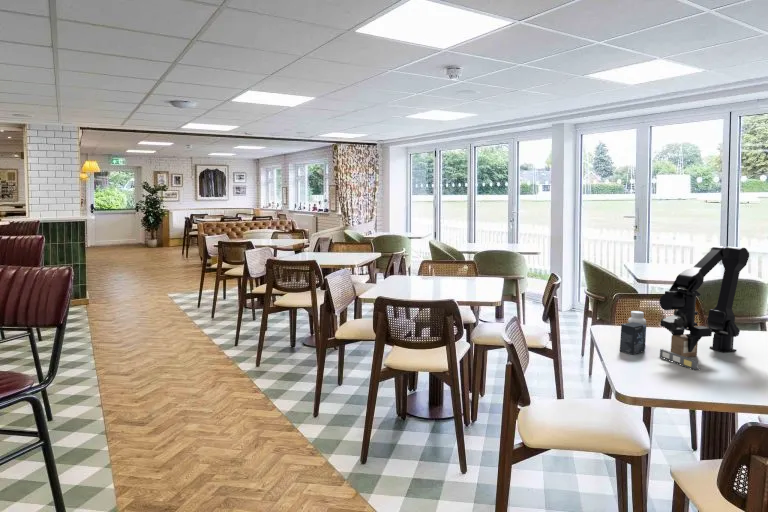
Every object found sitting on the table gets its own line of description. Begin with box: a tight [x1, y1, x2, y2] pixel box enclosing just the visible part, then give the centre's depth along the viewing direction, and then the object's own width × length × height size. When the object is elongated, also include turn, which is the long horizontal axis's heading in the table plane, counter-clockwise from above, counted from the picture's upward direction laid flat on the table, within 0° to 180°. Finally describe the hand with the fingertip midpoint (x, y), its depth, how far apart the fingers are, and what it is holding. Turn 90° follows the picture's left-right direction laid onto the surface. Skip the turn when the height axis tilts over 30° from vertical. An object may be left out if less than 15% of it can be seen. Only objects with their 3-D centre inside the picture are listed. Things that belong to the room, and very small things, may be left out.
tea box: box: [670, 333, 699, 358], centre depth 209 cm, size 7×5×7 cm
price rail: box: [659, 348, 701, 371], centre depth 199 cm, size 16×3×3 cm, turn 15°
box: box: [619, 322, 647, 355], centre depth 213 cm, size 8×6×11 cm
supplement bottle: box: [627, 310, 647, 342], centre depth 224 cm, size 7×7×13 cm
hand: (683, 350), depth 209 cm, fingers closed on tea box, 5 cm apart
